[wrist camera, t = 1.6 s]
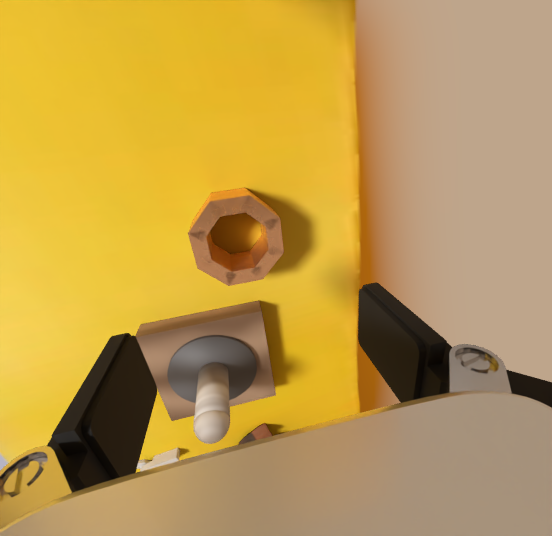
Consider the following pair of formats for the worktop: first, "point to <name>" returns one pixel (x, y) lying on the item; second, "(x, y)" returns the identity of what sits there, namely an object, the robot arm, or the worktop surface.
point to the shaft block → (209, 364)
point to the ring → (242, 263)
